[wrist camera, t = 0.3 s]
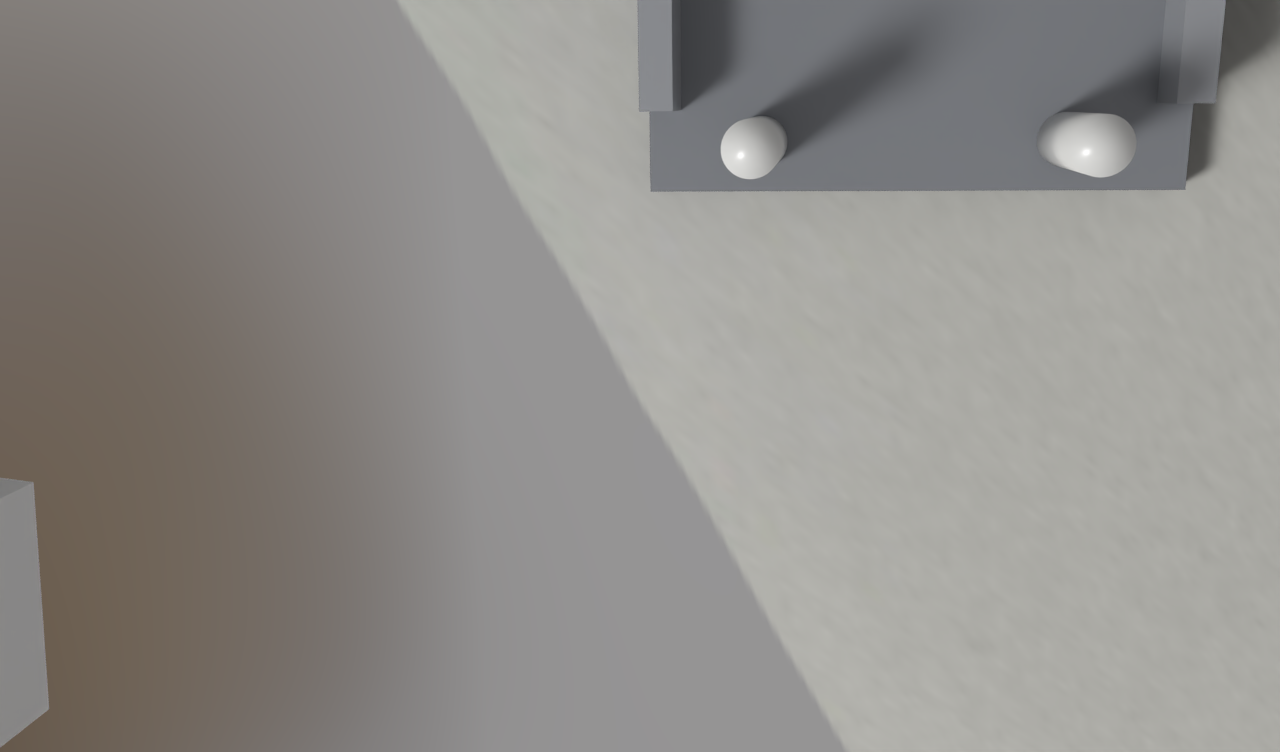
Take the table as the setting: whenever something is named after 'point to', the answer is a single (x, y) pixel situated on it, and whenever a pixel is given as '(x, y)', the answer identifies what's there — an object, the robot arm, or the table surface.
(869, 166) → the tray
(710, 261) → the table surface
